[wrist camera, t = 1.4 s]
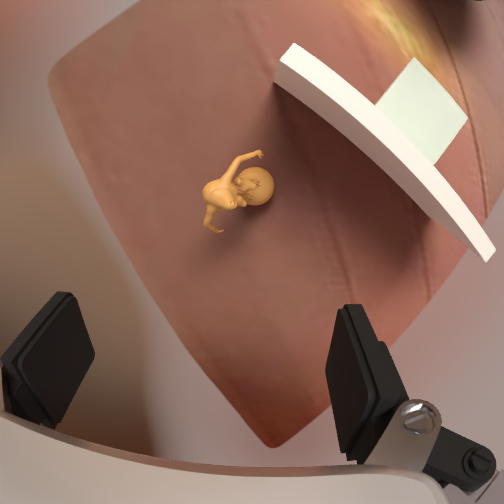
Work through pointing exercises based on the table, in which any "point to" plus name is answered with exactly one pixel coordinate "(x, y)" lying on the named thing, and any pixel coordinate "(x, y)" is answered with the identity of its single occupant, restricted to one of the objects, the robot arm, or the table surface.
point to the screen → (380, 143)
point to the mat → (422, 110)
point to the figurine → (237, 189)
